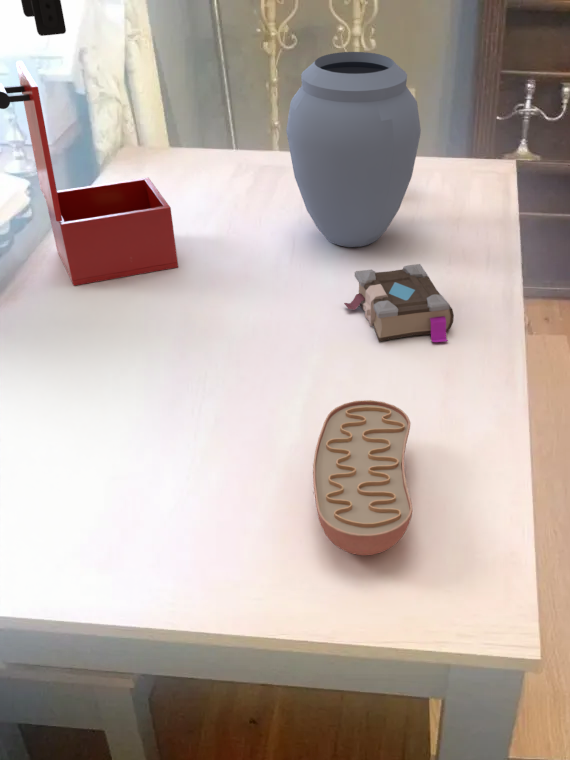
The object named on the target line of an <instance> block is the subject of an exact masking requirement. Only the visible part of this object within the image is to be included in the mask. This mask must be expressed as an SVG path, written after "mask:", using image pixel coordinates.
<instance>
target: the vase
mask: <svg viewBox="0 0 570 760" xmlns="http://www.w3.org/2000/svg"><path fill="white" fill-rule="evenodd" d="M300 79H301V86H300V87H299V89H297V91H296V93H294V95H293V97H292V98H291V101H290V105H289V111H288V117H287V123H286V130H285V131H286V132H285V133H286V136H287V143H288V149H289V153H290V159H291V165H292V170H293V175H294V179H295V182H296V184H297V187H298V190H299V193H300V195H301V198H302V201H303V204H304V206H305V209H306V211H307V213H308V215H309V216H310V218H311V219H312V222H313V223H314V224H315V226H316V228H317V229H318V232H320V233H321V234H322V235H323V237H324V238H325V239H326V240H327V241H328V242H329V243H332V244H334V245H336V246H337V245H338V246H339V247H345V248H361V247H365V246H369V245H371V244H373V243H376V242H377V241H378V240H379V239H380V238H381V236H382V235H384V234H385V232H386V231H387V230H388V228H389V226H390V225H391V223H392V222H393V220H394V219H395V217H396V216H397V214H398V212H399V210H400V208H401V205H402V203H403V200H404V199H405V198H404V197H405V195H406V192H407V190H408V188H409V185H410V183H411V180H412V178H413V174H414V168H415V163H416V158H417V153H418V149H419V143H420V138H421V134H422V133H421V130H422V128H421V121H420V115H419V106H418V101H417V99H416V98H415V96H414V95H413V93H412V92H411V90H410V89H409V88H408V86H407V80H408V73H407V72H406V71H405V70H404V69H403V68H401V67H400V66H399V65H398V64H397V63H396V62H395V61H394V60H393V59H392V58H390V57H389V56H386V55H383V54H379V53H374V52H366V51H342V52H334V53H329V54H328V53H327V54H325V55H322V56H320V57H318V58H316V59H315V60H314V61H313V62H312V63H311V64H310V65H308V66H307V67H306V68H305V69H304V70H303V71H302V72H301V74H300Z"/></svg>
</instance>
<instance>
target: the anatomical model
mask: <svg viewBox="0 0 570 760" xmlns="http://www.w3.org/2000/svg"><path fill="white" fill-rule="evenodd" d="M410 429H411V421H410V418H409V416H408V415H407V413H405V412H404V411H403V410H402V409H401V408H399V407H398V406H396V405H394V404H391V403H387V402H385V401H379V400H373V399H372V400H371V399H367V400H366V399H365V400H353V401H349V402H345V403H342V404H341V405H339V406H337V407H334V409H332V410H331V411H330V412H329V413H328V414H327V416H326V418H325V420H324V422H323V424H322V427H321V430H320V433H319V436H318V438H317V443H316V446H315V450H314V457H313V463H312V479H313V480H312V482H313V483H312V484H313V492H314V499H315V505H316V506H315V507H316V512H317V516H318V517H317V518H318V521H319V524H320V526H321V529H322V530H323V532H324V534H325V536H326V537H327V538H328V539H329V541H330V542H331V543H333V545H335V546H336V547H337V548H339V549H341V550H343V551H344V552H347V553H349V554H351V555H352V554H353V555H357V556H373V555H377V554H379V553H384V552H385V551H387V550H389V549H390V548H392V547H393V546H395V545H396V544H397V543H398V542H399V541H400V540H401V539H402V537H403V536H404V535H405V533H406V532H407V530H408V527H409V525H410V522H411V519H412V515H413V504H412V500H411V496H410V492H409V487H408V485H407V484H408V483H407V479H406V473H405V453H406V448H407V447H406V446H407V443H408V438H409V435H410Z"/></svg>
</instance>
